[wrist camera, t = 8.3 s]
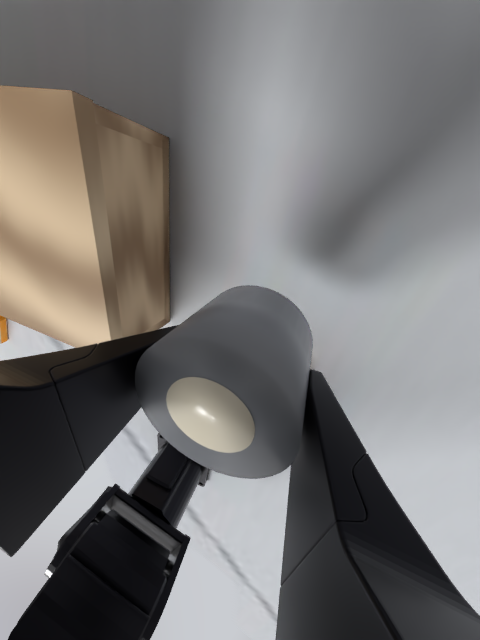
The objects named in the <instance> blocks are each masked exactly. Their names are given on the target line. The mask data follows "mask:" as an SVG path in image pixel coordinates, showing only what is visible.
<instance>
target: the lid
mask: <svg viewBox="0 0 480 640" xmlns="http://www.w3.org/2000/svg"><path fill="white" fill-rule="evenodd" d="M0 316H3V317H5V318H8V319H10V320H12V321H15V322H17V323H19V324H22V325H24V326H26V327H29V328H31V329H33V330H36V331H38V332H41V333H43V334H45V335H48V336H50V337H52V338H55V339H57V340H59V341H62V342H64V343H66V344H69V345H71V346H74V347H76V348H78V347H83V346H87V345H92V344H96V343H97V344H99V343H101V342H105V341H110V340H114V339H119V338H123V335H122V327H121V320H120V312H119V304H118V296H117V288H116V280H115V272H114V264H113V256H112V248H111V240H110V233H109V225H108V217H107V209H106V201H105V193H104V185H103V177H102V169H101V161H100V153H99V145H98V138H97V130H96V122H95V114H94V106H93V100H91V99H89V98H86V97H84V96H82V95H80V94H78V93H76V92H74V91H72V90H58V89H44V88H29V87H15V86H0Z"/></svg>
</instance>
